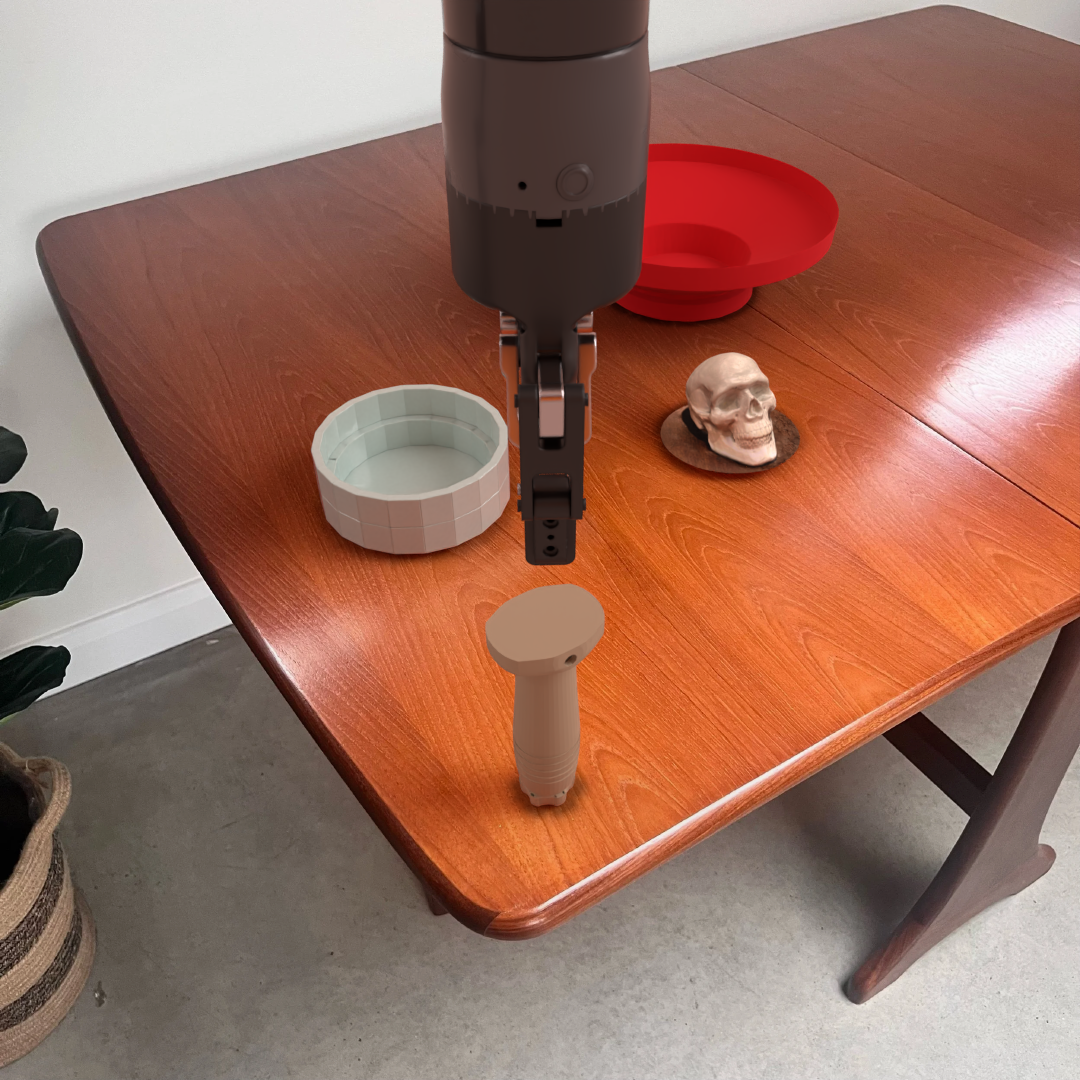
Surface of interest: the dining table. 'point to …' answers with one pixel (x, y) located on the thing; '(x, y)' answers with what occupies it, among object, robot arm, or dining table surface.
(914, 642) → the dining table surface
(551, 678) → the handle
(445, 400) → the mixing bowl
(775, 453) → the skull
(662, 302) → the bowl
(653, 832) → the dining table surface
